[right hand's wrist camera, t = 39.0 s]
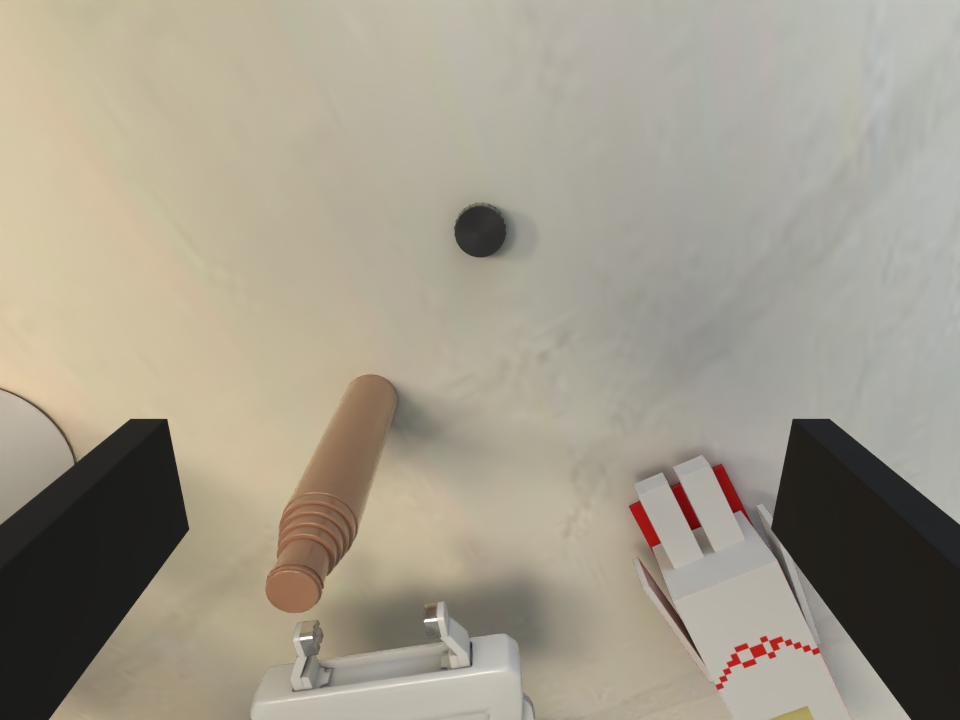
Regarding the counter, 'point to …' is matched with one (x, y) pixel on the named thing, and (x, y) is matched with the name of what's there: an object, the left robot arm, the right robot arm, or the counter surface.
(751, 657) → the toy
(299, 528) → the bottle
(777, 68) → the counter surface
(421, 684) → the left robot arm
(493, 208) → the cap
